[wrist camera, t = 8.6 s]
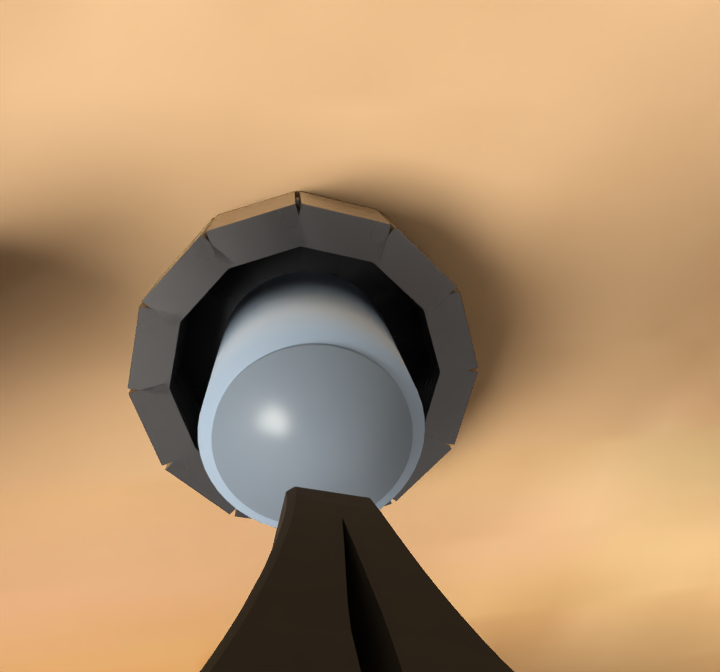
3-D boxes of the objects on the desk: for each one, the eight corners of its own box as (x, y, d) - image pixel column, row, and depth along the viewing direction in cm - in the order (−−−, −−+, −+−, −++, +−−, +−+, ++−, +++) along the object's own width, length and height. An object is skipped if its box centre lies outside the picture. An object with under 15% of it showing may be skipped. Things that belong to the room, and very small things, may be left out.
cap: (365, 440, 19) (392, 551, 14) (207, 411, 18) (177, 519, 13) (409, 292, 18) (455, 359, 13) (240, 252, 17) (221, 308, 12)
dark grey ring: (406, 493, 21) (422, 542, 18) (133, 450, 19) (111, 498, 17) (485, 235, 18) (516, 253, 16) (178, 162, 17) (159, 170, 14)
